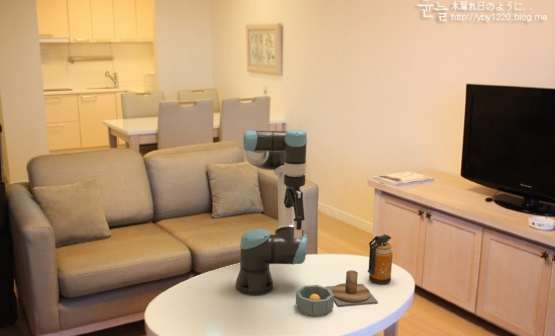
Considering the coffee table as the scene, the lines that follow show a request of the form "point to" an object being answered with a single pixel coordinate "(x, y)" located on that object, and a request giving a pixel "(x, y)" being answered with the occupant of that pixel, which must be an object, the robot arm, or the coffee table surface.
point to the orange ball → (314, 297)
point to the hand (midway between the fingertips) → (293, 231)
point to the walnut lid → (351, 289)
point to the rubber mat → (342, 303)
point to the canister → (380, 260)
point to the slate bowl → (314, 306)
